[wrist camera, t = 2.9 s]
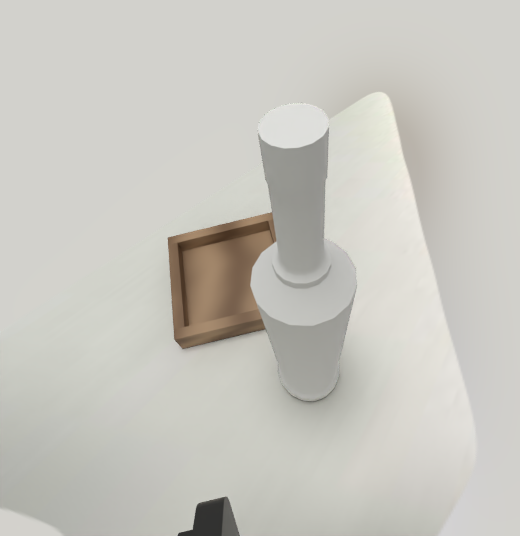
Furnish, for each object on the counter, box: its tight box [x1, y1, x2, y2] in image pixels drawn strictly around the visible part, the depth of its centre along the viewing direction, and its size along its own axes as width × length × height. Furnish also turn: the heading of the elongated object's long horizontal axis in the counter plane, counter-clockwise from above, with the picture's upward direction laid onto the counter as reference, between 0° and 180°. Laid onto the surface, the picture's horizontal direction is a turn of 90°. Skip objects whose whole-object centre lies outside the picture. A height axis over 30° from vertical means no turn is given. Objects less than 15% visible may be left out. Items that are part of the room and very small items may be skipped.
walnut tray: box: [168, 212, 276, 349], centre depth 36 cm, size 12×12×2 cm
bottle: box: [250, 103, 357, 401], centre depth 21 cm, size 5×5×25 cm
